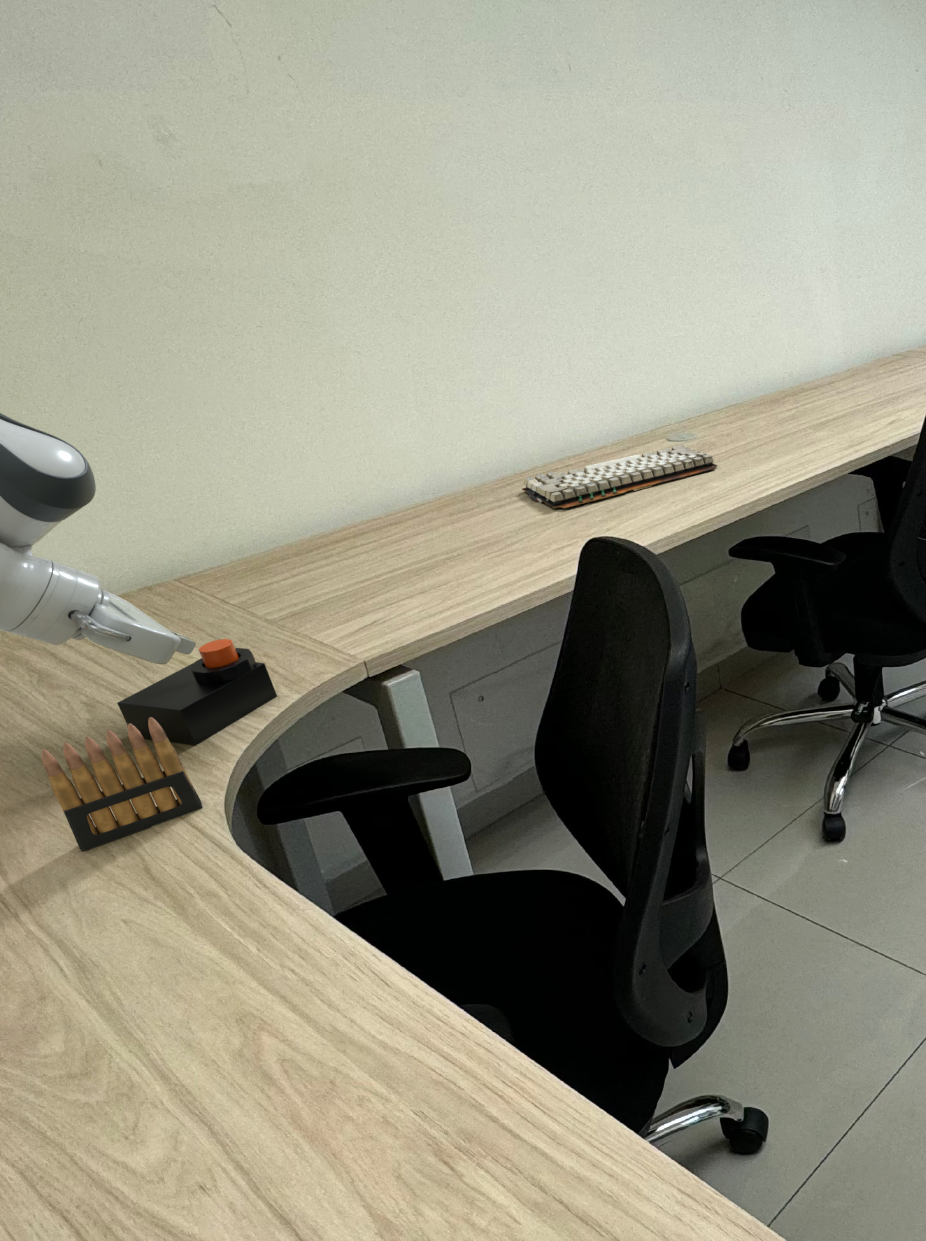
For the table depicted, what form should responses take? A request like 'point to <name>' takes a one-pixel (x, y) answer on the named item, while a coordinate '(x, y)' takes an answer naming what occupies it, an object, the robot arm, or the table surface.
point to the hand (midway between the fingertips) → (189, 646)
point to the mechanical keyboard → (616, 476)
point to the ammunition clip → (121, 787)
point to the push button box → (200, 699)
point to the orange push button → (218, 653)
